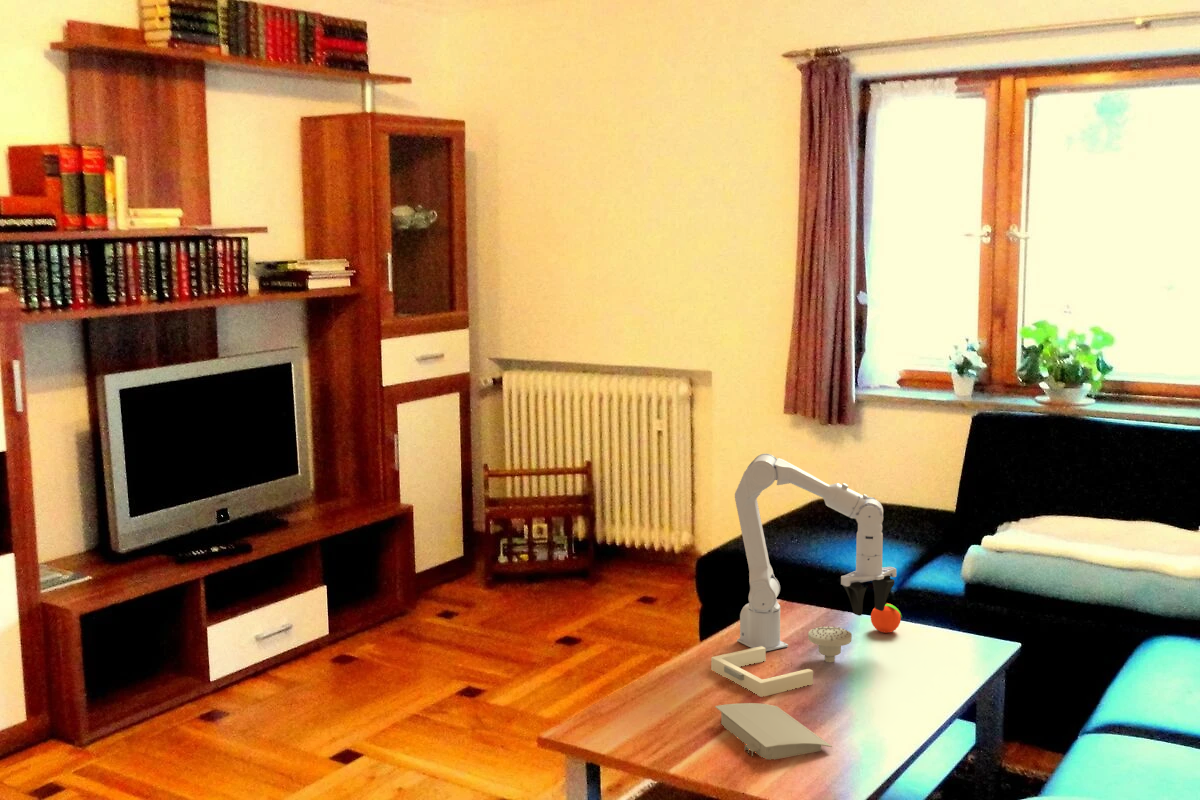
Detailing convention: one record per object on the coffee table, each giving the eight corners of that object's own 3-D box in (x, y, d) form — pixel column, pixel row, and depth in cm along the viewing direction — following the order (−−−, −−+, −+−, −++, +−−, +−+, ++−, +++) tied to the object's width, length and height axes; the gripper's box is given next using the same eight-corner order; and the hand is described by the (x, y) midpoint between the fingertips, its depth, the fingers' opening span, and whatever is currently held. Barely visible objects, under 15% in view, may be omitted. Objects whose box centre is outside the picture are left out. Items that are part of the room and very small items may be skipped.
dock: (708, 671, 266) (708, 657, 266) (761, 659, 273) (761, 646, 273) (757, 698, 251) (757, 684, 250) (812, 684, 258) (813, 670, 257)
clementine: (910, 632, 289) (910, 603, 288) (893, 639, 284) (894, 610, 283) (881, 625, 295) (881, 596, 294) (864, 632, 290) (865, 603, 289)
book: (760, 772, 218) (761, 751, 218) (704, 724, 239) (704, 705, 239) (835, 757, 223) (835, 737, 223) (774, 712, 245) (774, 693, 244)
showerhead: (810, 636, 266) (806, 622, 276) (809, 668, 267) (806, 653, 277) (854, 637, 265) (849, 622, 275) (853, 669, 266) (849, 653, 276)
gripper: (856, 561, 266) (855, 622, 268) (906, 552, 273) (905, 611, 275) (835, 554, 272) (834, 613, 274) (884, 545, 279) (883, 603, 281)
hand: (868, 612), depth 275 cm, fingers open, 6 cm apart
